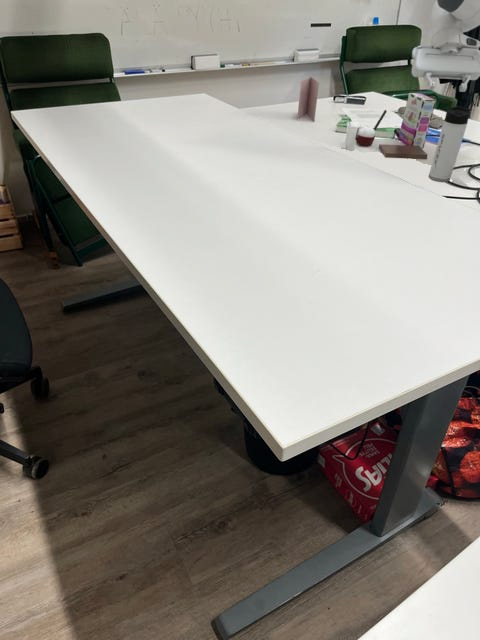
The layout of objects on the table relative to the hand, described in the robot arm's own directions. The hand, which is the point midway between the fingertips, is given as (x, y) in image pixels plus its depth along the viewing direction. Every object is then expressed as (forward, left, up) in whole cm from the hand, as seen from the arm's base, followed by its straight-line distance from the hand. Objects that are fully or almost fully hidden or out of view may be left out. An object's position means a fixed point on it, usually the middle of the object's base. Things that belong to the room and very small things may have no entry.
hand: (447, 89), depth 142 cm
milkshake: (+23, -13, -23) cm, 35 cm away
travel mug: (0, +12, -23) cm, 26 cm away
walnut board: (+5, -11, -23) cm, 26 cm away
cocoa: (+16, -19, -23) cm, 34 cm away
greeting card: (+33, -51, -23) cm, 65 cm away
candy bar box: (-1, -22, -23) cm, 32 cm away
